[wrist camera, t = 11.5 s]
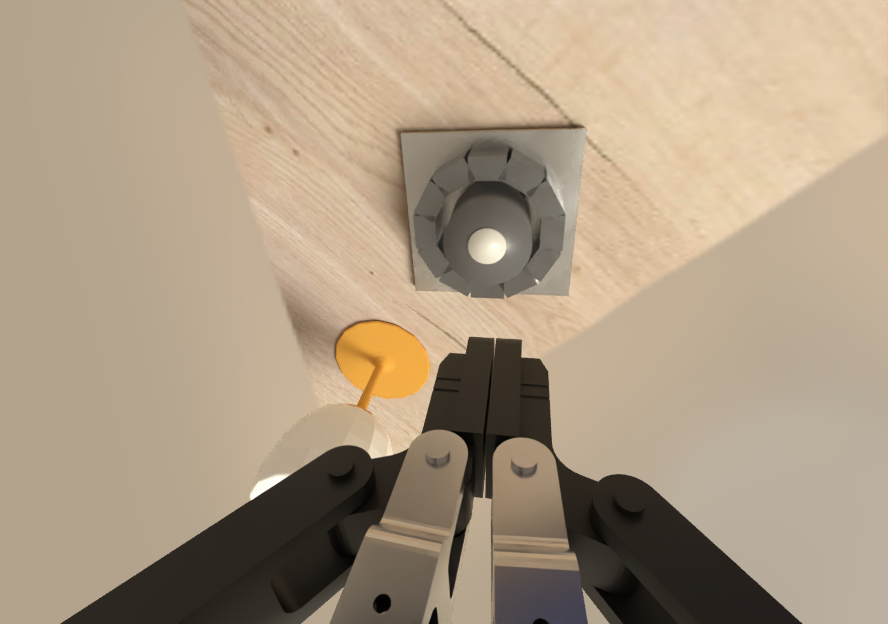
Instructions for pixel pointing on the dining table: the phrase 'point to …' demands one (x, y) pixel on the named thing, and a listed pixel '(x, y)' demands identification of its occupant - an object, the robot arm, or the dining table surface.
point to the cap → (489, 234)
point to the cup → (373, 371)
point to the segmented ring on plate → (506, 161)
